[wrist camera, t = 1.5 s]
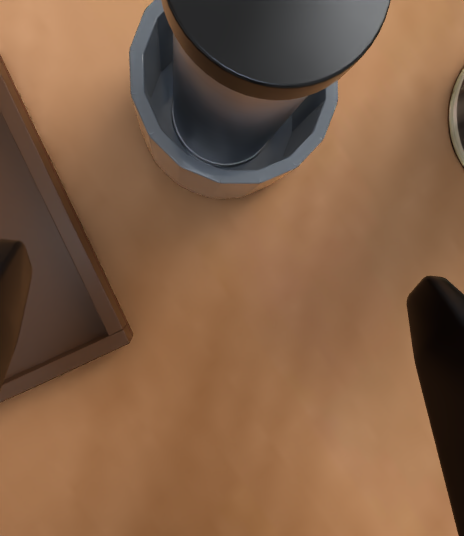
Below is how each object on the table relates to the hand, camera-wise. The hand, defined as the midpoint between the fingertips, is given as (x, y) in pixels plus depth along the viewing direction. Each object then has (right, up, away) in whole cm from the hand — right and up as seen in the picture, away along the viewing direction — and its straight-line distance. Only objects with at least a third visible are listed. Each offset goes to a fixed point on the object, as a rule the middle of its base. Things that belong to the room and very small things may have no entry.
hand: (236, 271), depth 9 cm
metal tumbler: (-1, +9, +13) cm, 16 cm away
